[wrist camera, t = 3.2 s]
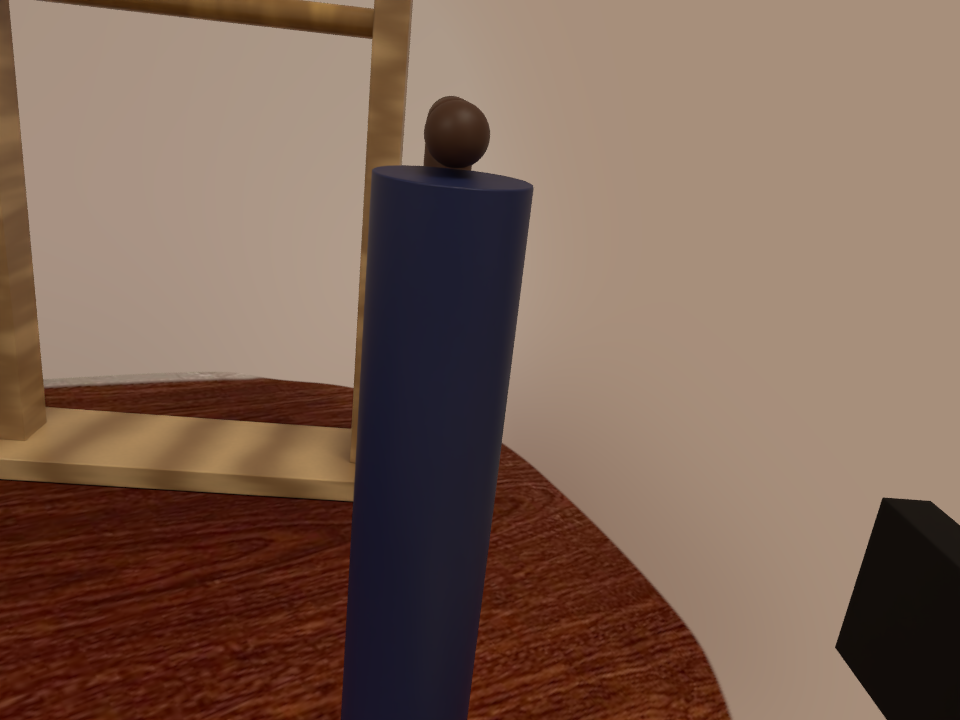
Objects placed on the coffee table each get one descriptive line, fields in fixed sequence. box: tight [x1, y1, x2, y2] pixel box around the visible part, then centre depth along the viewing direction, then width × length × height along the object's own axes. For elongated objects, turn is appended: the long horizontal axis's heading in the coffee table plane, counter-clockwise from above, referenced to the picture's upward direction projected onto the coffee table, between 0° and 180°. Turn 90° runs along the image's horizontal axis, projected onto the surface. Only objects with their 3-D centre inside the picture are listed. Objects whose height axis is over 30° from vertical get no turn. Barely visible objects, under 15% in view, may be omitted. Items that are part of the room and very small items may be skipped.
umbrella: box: [341, 96, 533, 720], centre depth 25 cm, size 10×4×26 cm, turn 3°
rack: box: [0, 0, 413, 501], centre depth 48 cm, size 25×8×31 cm, turn 93°
